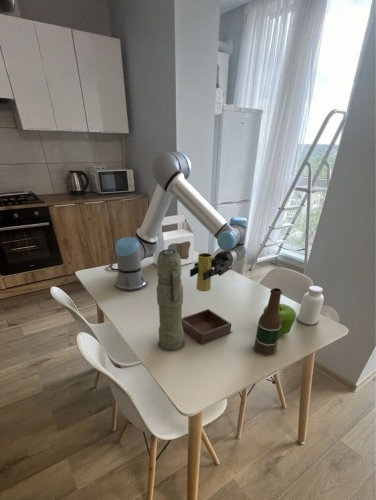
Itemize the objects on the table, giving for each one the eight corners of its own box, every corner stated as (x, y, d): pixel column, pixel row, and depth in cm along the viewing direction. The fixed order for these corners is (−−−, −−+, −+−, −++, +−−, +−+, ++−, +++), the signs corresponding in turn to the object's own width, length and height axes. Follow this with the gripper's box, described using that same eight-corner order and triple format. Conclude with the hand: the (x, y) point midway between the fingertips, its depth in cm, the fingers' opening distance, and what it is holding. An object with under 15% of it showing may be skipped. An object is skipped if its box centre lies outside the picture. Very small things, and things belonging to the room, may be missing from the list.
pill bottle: (294, 320, 123) (302, 288, 115) (302, 313, 128) (310, 282, 120) (312, 327, 119) (322, 294, 110) (320, 320, 124) (329, 288, 115)
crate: (180, 327, 118) (180, 318, 115) (207, 317, 125) (208, 308, 123) (201, 344, 108) (202, 335, 106) (230, 332, 115) (231, 323, 113)
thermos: (168, 355, 102) (165, 259, 83) (153, 339, 110) (147, 249, 91) (189, 348, 106) (191, 254, 86) (173, 333, 114) (171, 244, 95)
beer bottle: (276, 357, 102) (290, 296, 89) (254, 354, 103) (264, 293, 90) (275, 344, 108) (288, 285, 95) (254, 342, 110) (264, 283, 96)
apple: (279, 343, 109) (285, 318, 103) (253, 330, 116) (257, 305, 110) (297, 332, 116) (304, 307, 109) (272, 320, 123) (276, 296, 117)
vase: (194, 286, 122) (194, 253, 114) (206, 284, 124) (208, 251, 116) (200, 292, 117) (201, 258, 109) (213, 290, 119) (215, 256, 111)
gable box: (181, 256, 191) (181, 211, 175) (193, 262, 182) (194, 215, 166) (152, 263, 180) (150, 216, 164) (164, 269, 171) (162, 220, 155)
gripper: (243, 271, 126) (217, 289, 110) (207, 262, 135) (178, 278, 119) (245, 254, 122) (218, 271, 106) (208, 246, 131) (178, 261, 115)
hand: (197, 275), depth 112 cm, fingers closed on vase, 5 cm apart
